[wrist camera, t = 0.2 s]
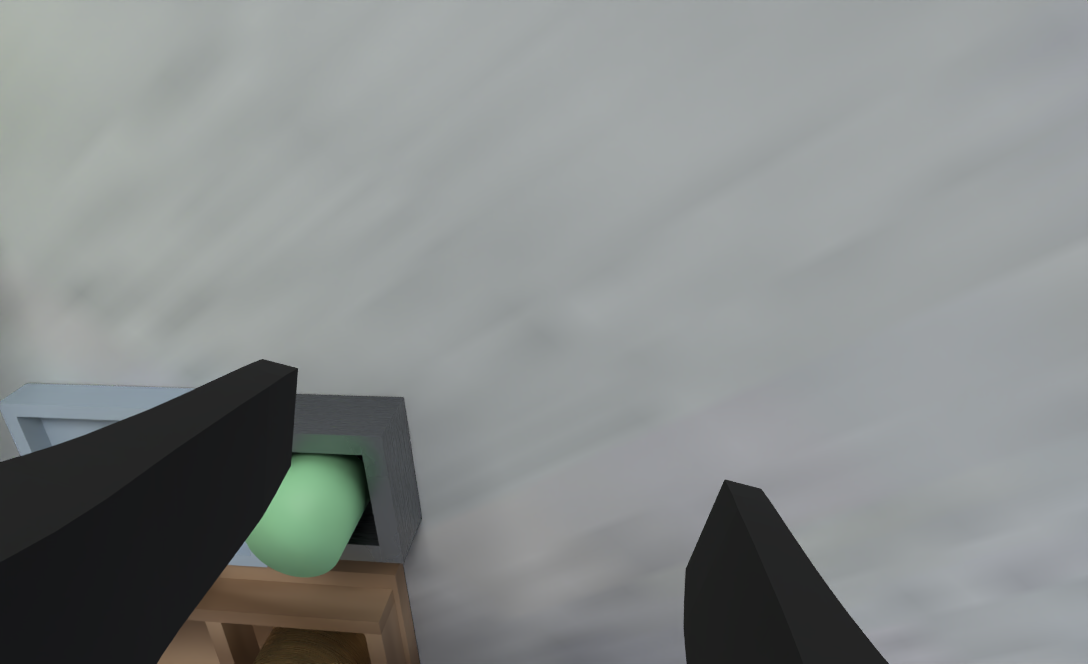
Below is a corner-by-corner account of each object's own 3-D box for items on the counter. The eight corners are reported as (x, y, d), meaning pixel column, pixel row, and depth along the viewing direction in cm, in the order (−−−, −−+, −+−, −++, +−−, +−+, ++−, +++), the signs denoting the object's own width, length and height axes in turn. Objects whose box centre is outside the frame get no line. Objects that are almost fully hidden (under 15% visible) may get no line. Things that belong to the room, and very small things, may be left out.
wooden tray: (426, 703, 30) (410, 756, 28) (141, 678, 32) (106, 726, 30) (401, 558, 27) (381, 608, 24) (81, 539, 28) (37, 583, 26)
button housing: (421, 518, 25) (403, 563, 24) (288, 510, 26) (259, 554, 24) (403, 397, 23) (381, 436, 21) (257, 392, 24) (223, 430, 22)
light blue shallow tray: (283, 541, 27) (267, 567, 26) (88, 530, 28) (64, 554, 27) (243, 389, 24) (222, 411, 23) (26, 383, 25) (-4, 403, 24)
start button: (379, 517, 24) (348, 580, 22) (294, 512, 24) (255, 574, 22) (365, 443, 23) (331, 501, 20) (276, 439, 23) (231, 496, 21)
